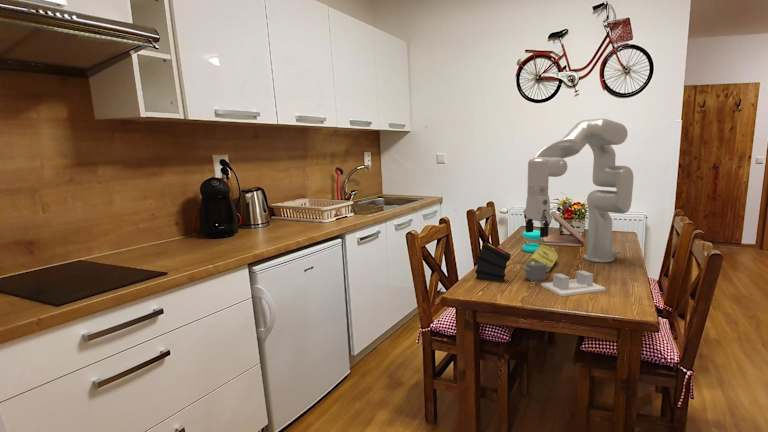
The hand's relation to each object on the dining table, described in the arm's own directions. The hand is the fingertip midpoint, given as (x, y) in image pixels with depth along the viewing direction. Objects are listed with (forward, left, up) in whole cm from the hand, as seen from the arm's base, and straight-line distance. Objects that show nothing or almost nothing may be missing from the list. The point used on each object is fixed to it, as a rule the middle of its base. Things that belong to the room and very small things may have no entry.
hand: (536, 234), depth 162 cm
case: (-49, -51, -19) cm, 73 cm away
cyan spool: (-24, -39, -18) cm, 49 cm away
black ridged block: (+16, -5, -18) cm, 25 cm away
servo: (0, 0, -18) cm, 18 cm away
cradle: (-6, +14, -18) cm, 24 cm away
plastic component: (-13, -15, -19) cm, 27 cm away
